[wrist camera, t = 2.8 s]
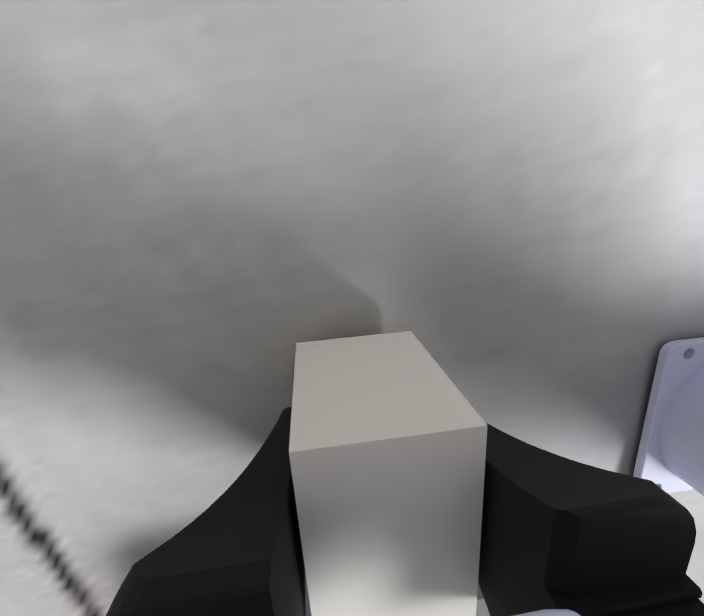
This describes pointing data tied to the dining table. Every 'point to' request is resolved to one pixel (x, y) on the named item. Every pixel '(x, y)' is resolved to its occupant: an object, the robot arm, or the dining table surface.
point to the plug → (385, 479)
